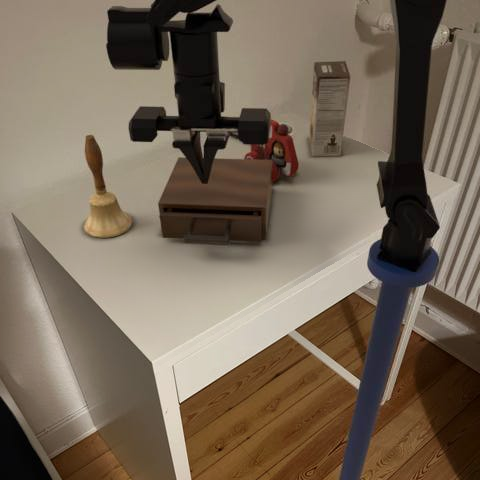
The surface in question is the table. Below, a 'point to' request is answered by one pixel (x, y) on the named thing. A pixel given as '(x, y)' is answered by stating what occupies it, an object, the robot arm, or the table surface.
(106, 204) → the hand bell
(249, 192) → the cabinet
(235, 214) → the drawer
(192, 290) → the table surface
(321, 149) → the coffee box
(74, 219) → the table surface
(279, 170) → the toy fire truck
